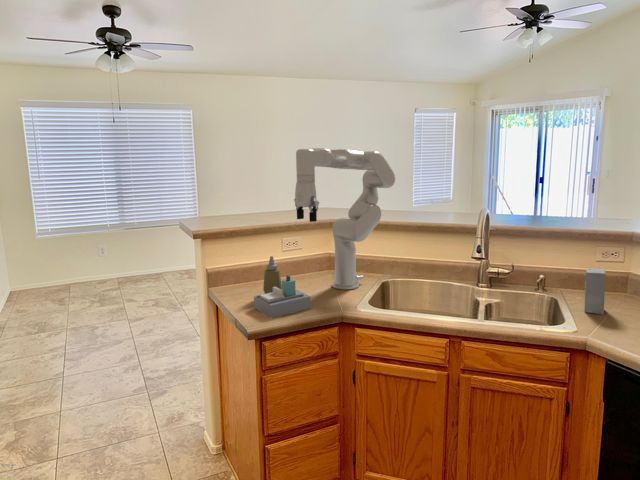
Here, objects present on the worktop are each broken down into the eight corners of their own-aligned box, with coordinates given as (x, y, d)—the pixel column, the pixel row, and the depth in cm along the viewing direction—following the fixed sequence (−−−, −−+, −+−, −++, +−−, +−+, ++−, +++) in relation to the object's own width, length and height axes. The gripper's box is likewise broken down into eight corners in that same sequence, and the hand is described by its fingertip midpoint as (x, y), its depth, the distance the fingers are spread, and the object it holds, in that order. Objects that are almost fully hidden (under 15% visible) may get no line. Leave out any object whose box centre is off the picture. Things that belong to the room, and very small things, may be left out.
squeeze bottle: (279, 300, 196) (278, 259, 193) (261, 299, 198) (259, 258, 194) (284, 294, 204) (283, 254, 201) (267, 293, 206) (265, 254, 202)
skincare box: (603, 315, 173) (607, 274, 170) (581, 312, 177) (585, 271, 174) (604, 308, 180) (608, 269, 177) (582, 305, 184) (586, 267, 181)
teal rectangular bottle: (290, 302, 191) (290, 273, 188) (295, 304, 187) (295, 276, 185) (282, 304, 189) (281, 275, 186) (287, 306, 185) (286, 277, 183)
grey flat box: (292, 299, 197) (292, 286, 196) (310, 308, 186) (310, 294, 185) (254, 308, 187) (253, 294, 186) (271, 318, 176) (270, 303, 175)
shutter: (275, 294, 188) (275, 286, 187) (284, 298, 182) (284, 290, 182) (260, 297, 184) (260, 289, 183) (268, 301, 178) (268, 293, 178)
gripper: (287, 178, 197) (288, 218, 200) (309, 180, 183) (310, 223, 186) (302, 178, 201) (303, 217, 204) (325, 179, 187) (325, 221, 190)
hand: (306, 220), depth 195 cm, fingers open, 9 cm apart
